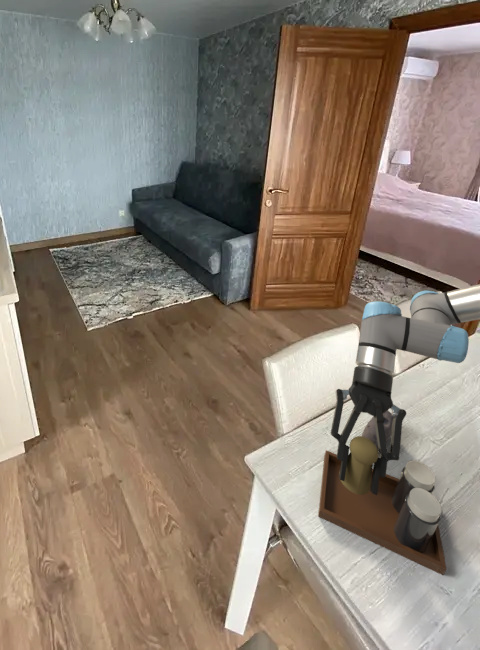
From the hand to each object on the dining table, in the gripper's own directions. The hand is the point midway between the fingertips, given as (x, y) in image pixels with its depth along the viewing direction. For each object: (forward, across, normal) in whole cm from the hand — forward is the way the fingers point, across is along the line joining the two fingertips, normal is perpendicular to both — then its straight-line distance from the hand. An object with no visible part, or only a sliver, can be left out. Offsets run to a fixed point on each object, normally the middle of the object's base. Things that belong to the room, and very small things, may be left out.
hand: (357, 485), depth 70 cm
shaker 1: (+1, -11, -11) cm, 15 cm away
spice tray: (+4, -5, -9) cm, 11 cm away
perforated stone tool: (-8, -5, -21) cm, 23 cm away
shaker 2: (+6, -11, -6) cm, 14 cm away
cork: (0, 0, -5) cm, 5 cm away
